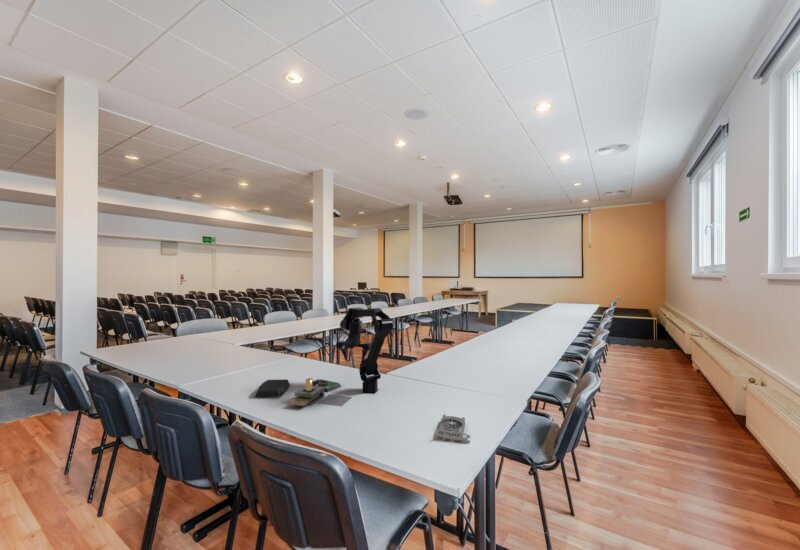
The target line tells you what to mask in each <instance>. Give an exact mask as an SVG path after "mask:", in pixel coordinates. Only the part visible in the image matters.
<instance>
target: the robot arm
mask: <svg viewBox="0 0 800 550" xmlns="http://www.w3.org/2000/svg"><path fill="white" fill-rule="evenodd" d="M365 317H366V318H367V317H369V318H370V317H371V323H372V326H373V327H374V328H373V331H374V337H373V341H372V342H367V341H366V342H364V343H362V340H361V335H362V333H361V325H362V324H363V321H362V320H361V318H365ZM377 317H378V318H379V319H378V318H377ZM339 326H340V329H341V330H344V331H348V334H347V338H346V339H345V340H340V341H337V342H336V344H335V347H336V349H338V350H339V351H341V353H342V355H343V357H344V360H345V362H347V361H348V358H349V357H348V356H349V355H348V353H349V350H352V349H354V348H361V354H362V355H361V362H360V364H359V370H358V371H359V376H360V380H361V382H362V392H361V393H362V394H369V395H371V394H372V395H375V394H376V393H378V391H379V390H380V389H379V387H378V384H379V383H378V382H379V381H378V380H380V379H381V376H382V375H381V372H380V371H379V368H378V367H379V364H378V358H379V356H380V354H381V351H382V347H383V345H384V342H385V341H386V340H385V339H386V337H387V336H389V335H390V334H391V333H392V331H393V329H394V321H392V319H391V318H390V316H389V315H388V314H386V313H385V312H384V311H383V310H382V309H381V308H379V307H378V308H377V307H376V308H374V307H373V308H368V309H367V308H363V307H349V308H348V309H347V312H346V313H345V315H344V316H343V318H342V320H340V323H339Z"/></svg>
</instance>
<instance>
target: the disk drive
mask: <svg viewBox="0 0 800 550" xmlns="http://www.w3.org/2000/svg"><path fill="white" fill-rule="evenodd" d="M341 385H342V384H341V383H340V382H336V381H331V380H325V379H319V378H318V379H316V380H313V385H312V386H318V387H324V393H329V392H331V391H334V390H336V389H339V388H341ZM305 386H306V383H305V385H304V387H305Z"/></svg>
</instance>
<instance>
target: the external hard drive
mask: <svg viewBox="0 0 800 550" xmlns="http://www.w3.org/2000/svg"><path fill="white" fill-rule="evenodd" d="M290 386H291V385H290V381H289V380H288V379H267V380H265V381H263V382H262V383H261V384H260V385H259V386H258V388H257V390H256V392H255V395H254V397H253V398H258V399H280V398H281V397H282V395H283V396H284V395H285V394H286V393H287V391H288V390H289V388H290Z"/></svg>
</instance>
